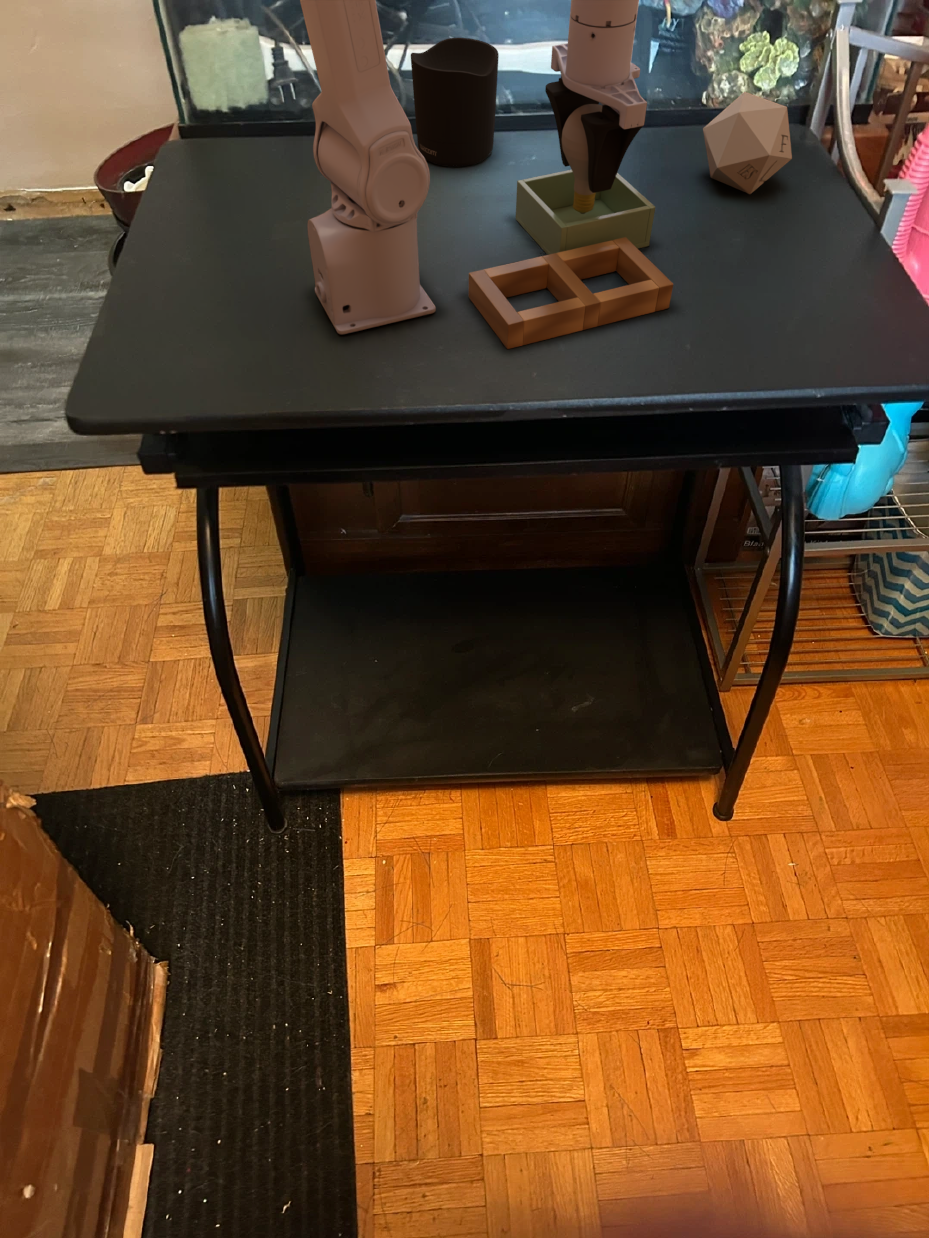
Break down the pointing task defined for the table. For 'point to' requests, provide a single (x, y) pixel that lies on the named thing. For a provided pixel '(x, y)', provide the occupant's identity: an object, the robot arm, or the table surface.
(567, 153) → the light bulb
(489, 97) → the pen holder
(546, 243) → the basin
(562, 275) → the frame
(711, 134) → the die
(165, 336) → the table surface
